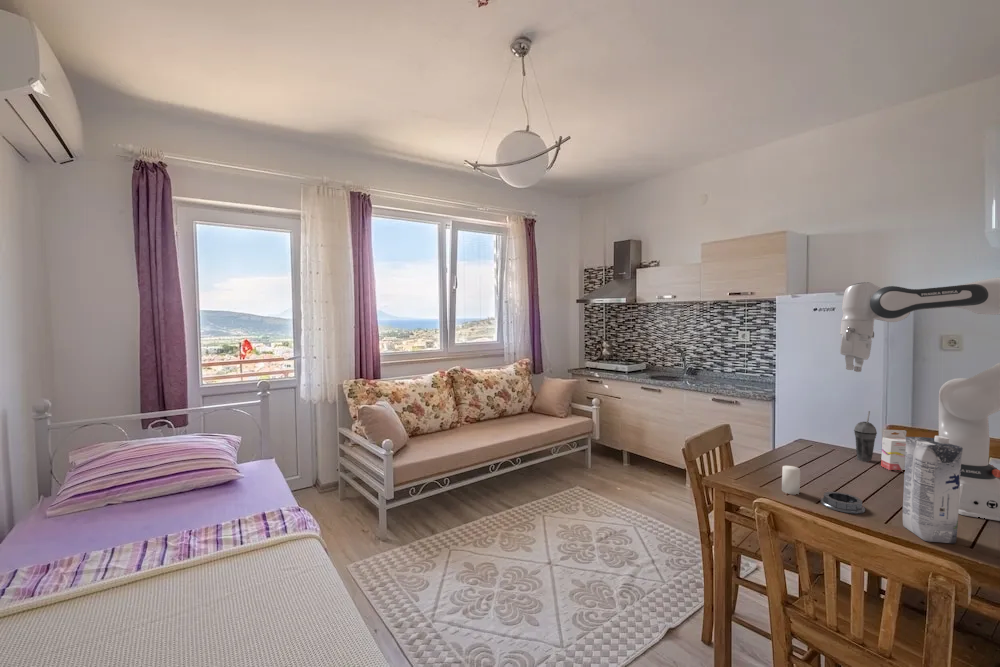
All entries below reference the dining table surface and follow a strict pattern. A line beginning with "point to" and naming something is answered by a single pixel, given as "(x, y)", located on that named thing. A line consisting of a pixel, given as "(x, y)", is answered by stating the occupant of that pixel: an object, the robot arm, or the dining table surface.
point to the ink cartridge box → (893, 450)
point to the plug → (791, 480)
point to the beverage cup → (865, 439)
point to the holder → (843, 502)
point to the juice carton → (932, 488)
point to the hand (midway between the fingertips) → (853, 370)
